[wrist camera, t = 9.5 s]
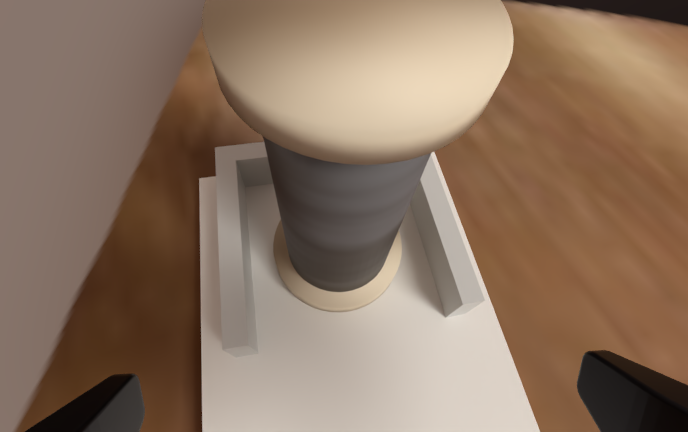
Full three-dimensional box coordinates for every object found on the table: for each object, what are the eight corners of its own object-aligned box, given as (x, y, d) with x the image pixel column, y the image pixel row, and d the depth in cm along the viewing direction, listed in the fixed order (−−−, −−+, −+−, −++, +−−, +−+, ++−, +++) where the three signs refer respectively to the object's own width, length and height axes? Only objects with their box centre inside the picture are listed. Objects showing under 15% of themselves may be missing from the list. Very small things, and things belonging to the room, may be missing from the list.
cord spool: (423, 269, 19) (579, 51, 7) (316, 338, 17) (303, 190, 6) (354, 180, 21) (392, -90, 10) (253, 232, 19) (154, -27, 8)
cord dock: (541, 472, 16) (597, 489, 13) (212, 558, 14) (180, 603, 11) (428, 160, 24) (445, 120, 20) (205, 189, 22) (184, 150, 19)
